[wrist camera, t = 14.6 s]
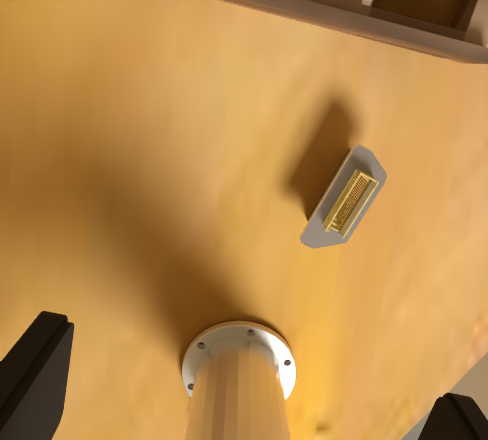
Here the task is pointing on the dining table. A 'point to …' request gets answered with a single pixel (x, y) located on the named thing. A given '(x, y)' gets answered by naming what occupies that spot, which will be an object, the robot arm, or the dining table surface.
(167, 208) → the dining table surface
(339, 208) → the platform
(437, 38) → the brown wooden long tray
